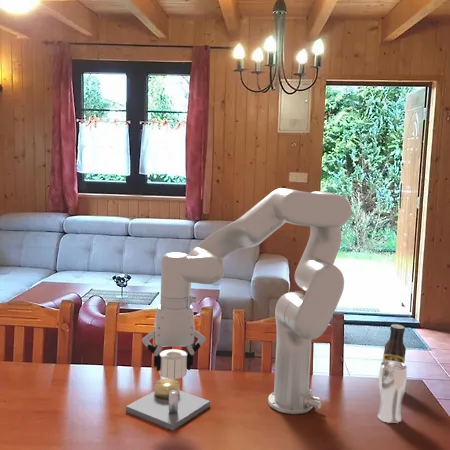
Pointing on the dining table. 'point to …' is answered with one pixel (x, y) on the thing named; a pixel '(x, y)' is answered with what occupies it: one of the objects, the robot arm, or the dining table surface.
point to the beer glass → (391, 390)
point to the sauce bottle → (395, 345)
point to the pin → (173, 402)
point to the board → (159, 409)
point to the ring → (173, 364)
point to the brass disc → (165, 388)
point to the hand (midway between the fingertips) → (173, 368)
